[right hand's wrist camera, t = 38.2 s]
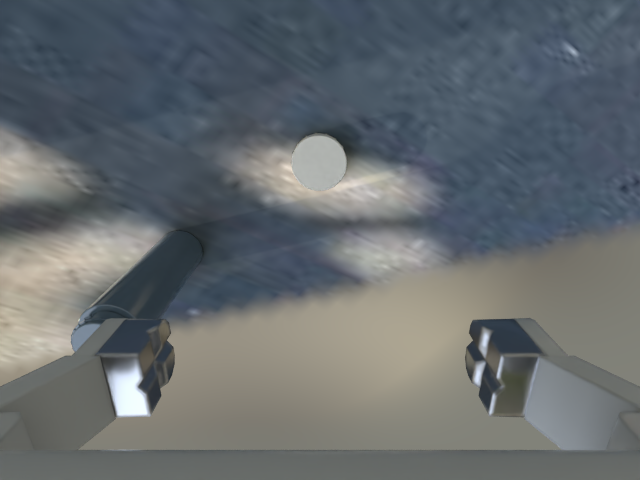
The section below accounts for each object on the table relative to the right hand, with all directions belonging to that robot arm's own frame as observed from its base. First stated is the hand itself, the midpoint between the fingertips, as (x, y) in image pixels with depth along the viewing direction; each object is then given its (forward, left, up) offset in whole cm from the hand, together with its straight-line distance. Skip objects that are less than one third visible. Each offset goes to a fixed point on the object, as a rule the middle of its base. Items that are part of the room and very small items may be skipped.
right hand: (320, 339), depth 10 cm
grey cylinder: (+15, +6, -27) cm, 31 cm away
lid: (0, 0, -25) cm, 25 cm away
